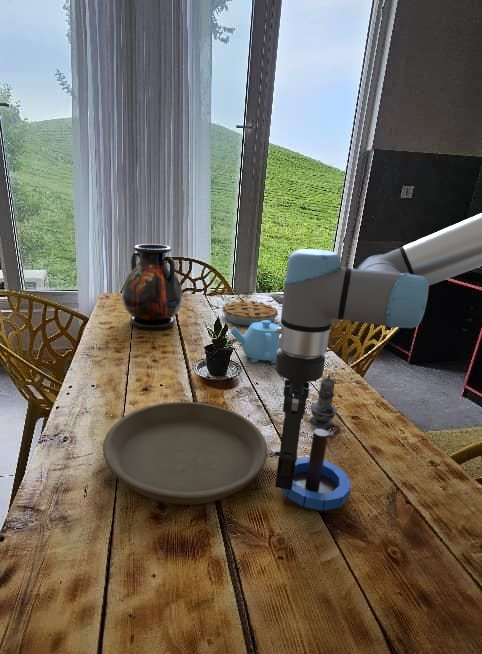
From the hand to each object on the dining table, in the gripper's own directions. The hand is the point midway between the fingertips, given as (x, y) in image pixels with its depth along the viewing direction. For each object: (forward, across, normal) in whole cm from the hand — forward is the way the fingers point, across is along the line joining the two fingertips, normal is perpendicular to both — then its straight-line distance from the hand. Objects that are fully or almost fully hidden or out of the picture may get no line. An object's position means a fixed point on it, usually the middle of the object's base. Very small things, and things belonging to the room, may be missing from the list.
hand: (285, 467), depth 78 cm
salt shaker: (+5, -26, +7) cm, 27 cm away
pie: (+5, -100, -20) cm, 102 cm away
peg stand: (+4, 0, +5) cm, 7 cm away
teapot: (+5, -61, -11) cm, 62 cm away
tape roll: (+3, 0, +5) cm, 6 cm away
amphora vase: (+4, -80, -53) cm, 96 cm away
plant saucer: (+5, -3, -19) cm, 20 cm away
